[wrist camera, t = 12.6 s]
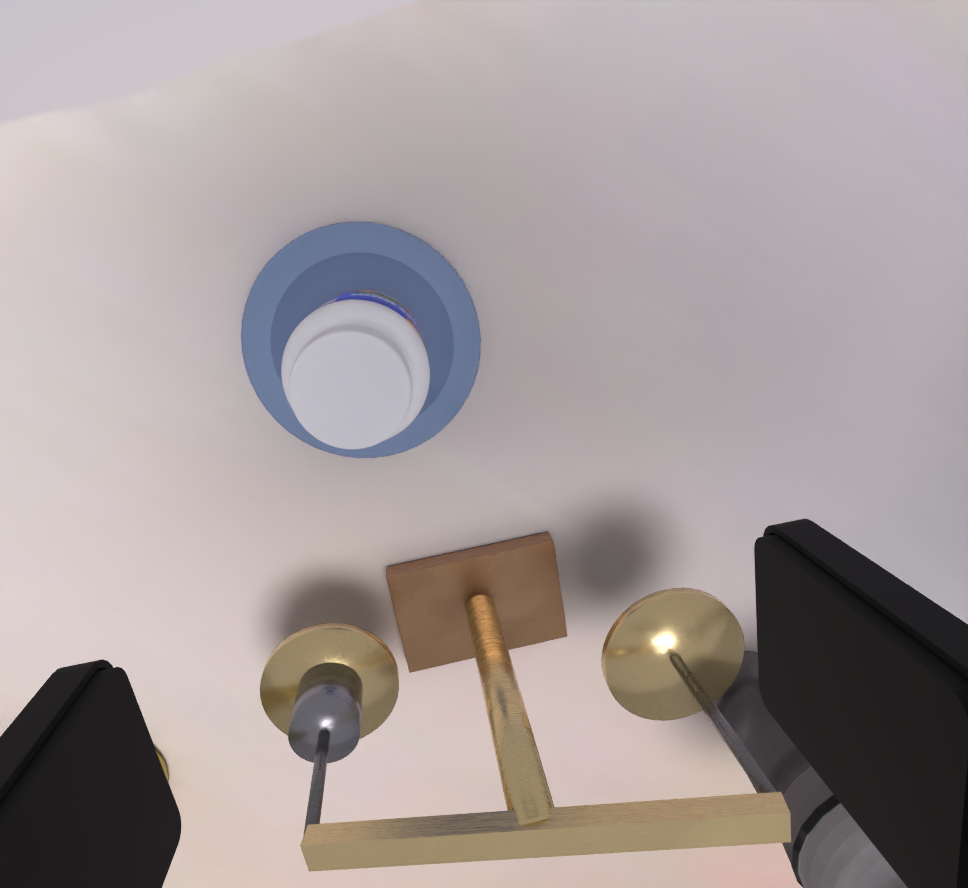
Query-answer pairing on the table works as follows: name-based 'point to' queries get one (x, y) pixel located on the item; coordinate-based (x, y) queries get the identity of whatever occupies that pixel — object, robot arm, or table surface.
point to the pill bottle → (356, 370)
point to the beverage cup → (803, 797)
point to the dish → (377, 267)
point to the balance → (514, 711)
